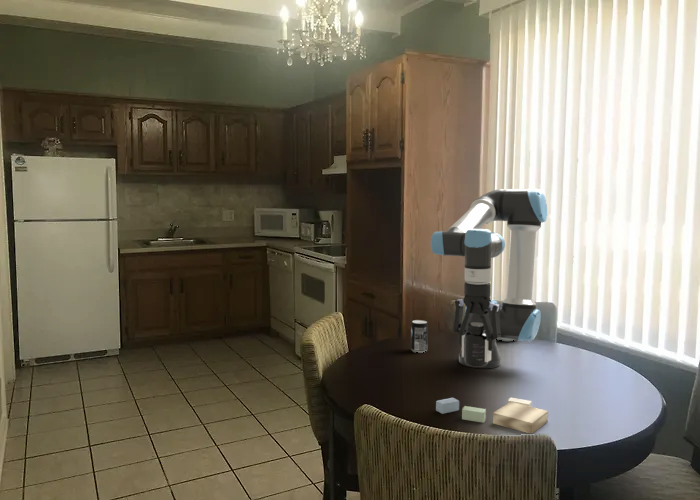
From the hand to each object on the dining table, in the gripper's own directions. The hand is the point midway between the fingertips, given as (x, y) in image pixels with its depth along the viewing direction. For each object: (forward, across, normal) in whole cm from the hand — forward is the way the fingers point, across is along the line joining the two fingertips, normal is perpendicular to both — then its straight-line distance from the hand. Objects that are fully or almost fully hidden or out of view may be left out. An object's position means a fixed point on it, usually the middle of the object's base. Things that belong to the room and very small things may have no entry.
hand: (476, 358), depth 170 cm
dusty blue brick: (+14, -4, -10) cm, 18 cm away
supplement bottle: (+2, 0, 0) cm, 2 cm away
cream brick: (+14, +12, +4) cm, 19 cm away
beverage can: (+15, -45, +38) cm, 61 cm away
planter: (+16, -27, +78) cm, 84 cm away
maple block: (+14, +16, -5) cm, 22 cm away
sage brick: (+14, +5, -11) cm, 18 cm away
